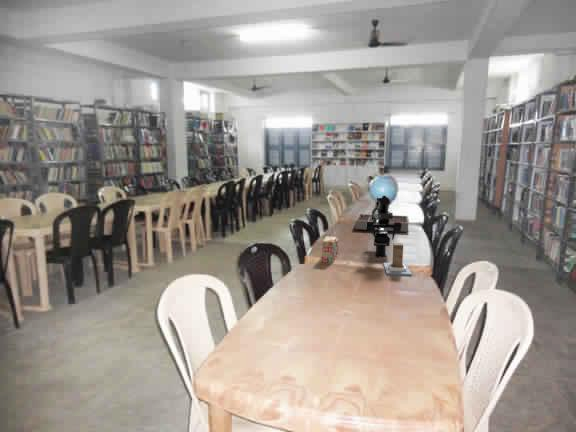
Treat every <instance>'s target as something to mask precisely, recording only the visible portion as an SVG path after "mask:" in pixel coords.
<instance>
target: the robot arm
mask: <svg viewBox="0 0 576 432" xmlns="http://www.w3.org/2000/svg"><path fill="white" fill-rule="evenodd" d="M374 203H375V206H374V208H373V209H372V210H371V215H372V220H373V221H367V222H366V231H368V232H369V233H370V234H371V235H372V237H373V242H372V243H373V246H374V247H375V252H374V257H376V258H377V257H379V258H380V257H381V258H387V257H388V256H387V253H386V252H387V251H386V250H387V249H386V248H387V247H390V243H391V238H392V241H394V238H395V236H396V234H398V233H399V232H402V231H401V226H402V224H401V222H394V224H393V225H391V224H389V219H392V218H393V216H394V215H393V212H389V209H390V205H392V201H391V200H390V198H389V197H388V196H387V195H382V196H377V197H376V198H375V202H374ZM375 228H376V230H375ZM384 228H393V231H392V233H391V234H392V235H391V238H390V236H389V233H388V231H387V230H384Z"/></svg>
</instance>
